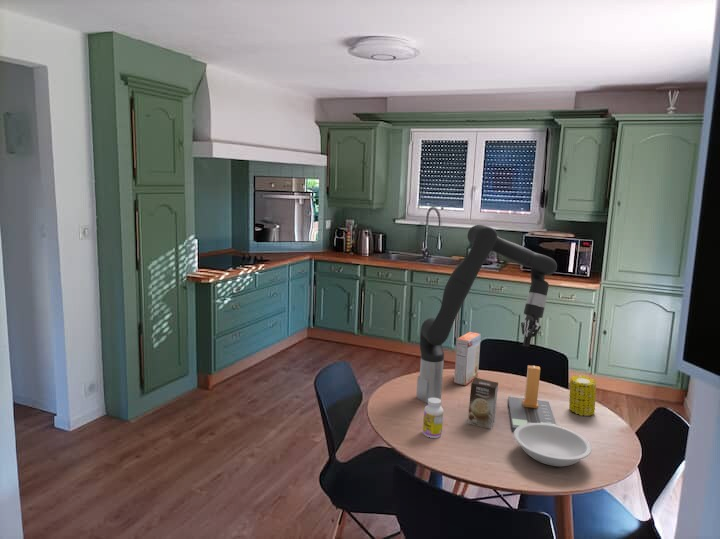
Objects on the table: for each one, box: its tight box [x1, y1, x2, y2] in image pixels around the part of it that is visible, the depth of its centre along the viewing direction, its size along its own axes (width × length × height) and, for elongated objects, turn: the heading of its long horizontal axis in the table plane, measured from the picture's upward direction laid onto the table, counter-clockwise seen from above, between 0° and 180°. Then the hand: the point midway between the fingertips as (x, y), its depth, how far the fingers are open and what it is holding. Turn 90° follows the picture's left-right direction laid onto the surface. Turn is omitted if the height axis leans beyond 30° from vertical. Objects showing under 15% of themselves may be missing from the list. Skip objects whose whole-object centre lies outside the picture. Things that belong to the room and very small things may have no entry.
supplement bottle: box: [422, 398, 444, 439], centre depth 182 cm, size 7×7×13 cm
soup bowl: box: [513, 423, 593, 467], centre depth 170 cm, size 24×24×7 cm
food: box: [568, 374, 597, 417], centre depth 206 cm, size 15×12×10 cm
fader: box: [522, 364, 541, 408], centre depth 205 cm, size 4×6×16 cm
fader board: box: [507, 396, 557, 433], centre depth 200 cm, size 28×16×4 cm, turn 168°
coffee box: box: [467, 377, 499, 430], centre depth 192 cm, size 9×6×16 cm
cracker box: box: [453, 331, 482, 386], centre depth 233 cm, size 14×6×21 cm, turn 144°
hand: (525, 346), depth 212 cm, fingers closed
